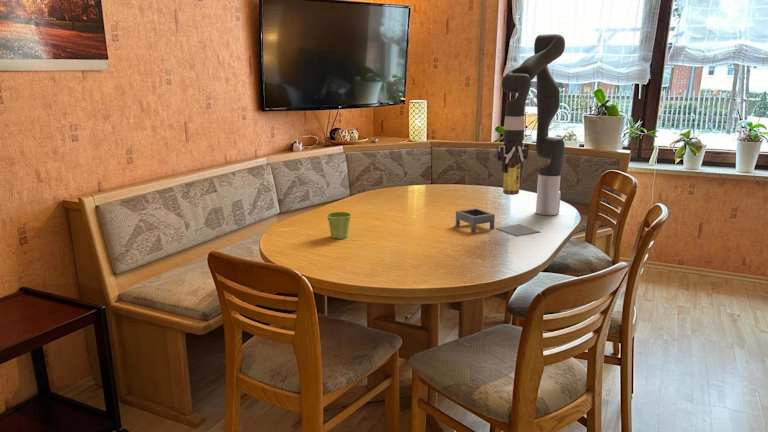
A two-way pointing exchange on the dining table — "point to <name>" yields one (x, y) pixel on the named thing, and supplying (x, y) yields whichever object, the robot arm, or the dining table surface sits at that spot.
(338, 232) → the plant pot
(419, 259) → the dining table surface
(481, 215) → the grey square frame stand
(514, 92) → the robot arm
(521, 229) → the slate mat
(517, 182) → the sauce bottle
